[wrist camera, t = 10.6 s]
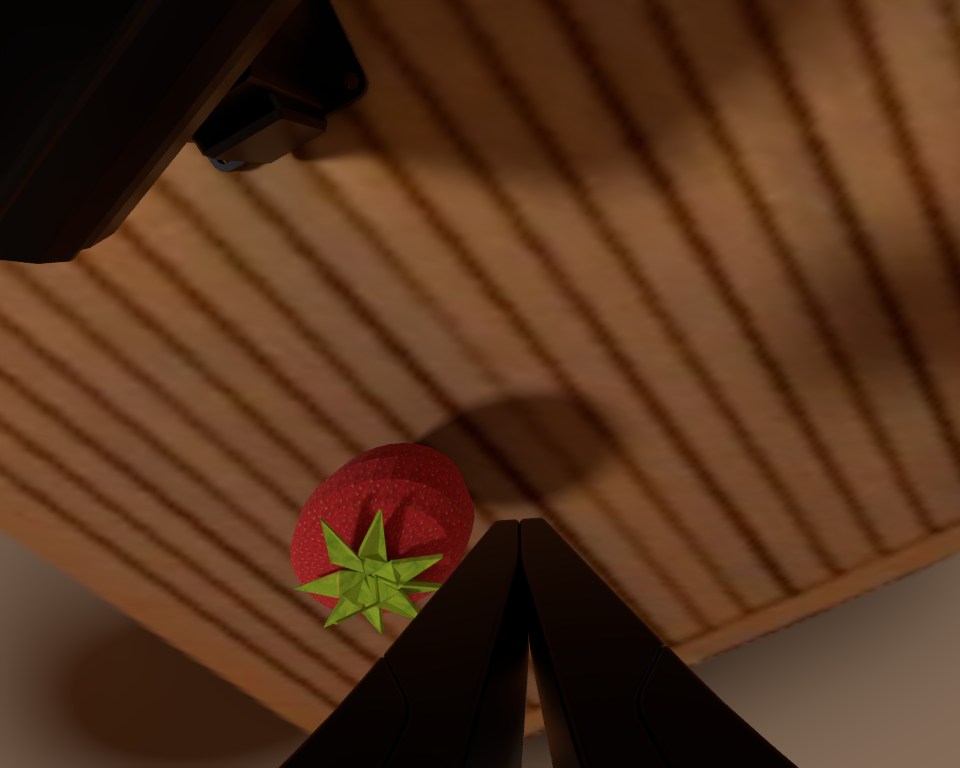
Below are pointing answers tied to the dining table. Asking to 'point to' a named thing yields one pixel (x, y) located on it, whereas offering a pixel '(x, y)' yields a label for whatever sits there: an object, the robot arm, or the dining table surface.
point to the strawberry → (383, 532)
